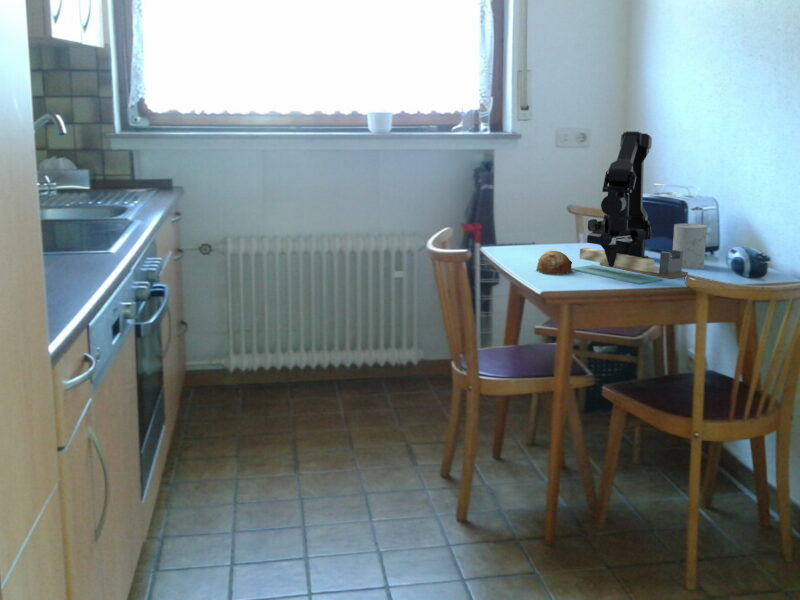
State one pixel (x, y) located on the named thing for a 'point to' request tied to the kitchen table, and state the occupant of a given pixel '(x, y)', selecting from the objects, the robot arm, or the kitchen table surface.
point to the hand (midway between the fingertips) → (615, 266)
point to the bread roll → (554, 263)
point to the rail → (618, 259)
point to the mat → (616, 274)
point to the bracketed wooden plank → (663, 266)
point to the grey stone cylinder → (690, 244)
